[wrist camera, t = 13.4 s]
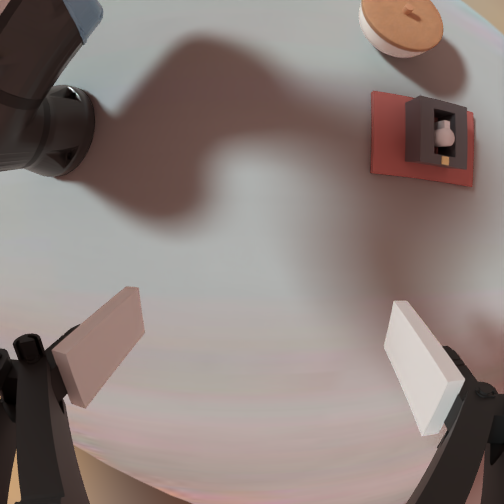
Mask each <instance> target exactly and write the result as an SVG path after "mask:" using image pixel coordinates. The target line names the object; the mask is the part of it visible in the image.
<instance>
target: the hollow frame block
mask: <svg viewBox="0 0 504 504" xmlns="http://www.w3.org/2000/svg"><path fill="white" fill-rule="evenodd" d="M434 117H436V118H438V122H439V121H443V120H446V121H450V130H452V132H453V133H454V136H455V141H454V143H453V144H452V145H451V146H443V147H438V154H434ZM467 150H468V131H467V108H466V107H463V106H459V105H456V104H452V103H448V102H445V101H441V100H437V99H432V98H428V97H424V96H418V97H416V98H414V99H412V100H410V101H408V102H406V103H405V162H412V163H419V164H425V165H431V166H437V167H443V168H449V169H463V170H467Z"/></svg>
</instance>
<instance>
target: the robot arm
mask: <svg viewBox="0 0 504 504" xmlns="http://www.w3.org/2000/svg"><path fill="white" fill-rule="evenodd" d="M102 18H103V8H102V6H101V5H100V3H99V2H98V1H97V0H0V172H1V171H7V170H15V169H22V168H24V169H27V170H29V171H32V172H34V173H37V174H39V175H42V176H47V177H53V176H61V175H64V174H67V173H69V172H71V171H72V170H73V169H75V168H76V167H77V166H78V165H79V163H80V162H81V161H82V160H83V158H84V157H85V155H86V153H87V151H88V149H89V147H90V144H91V141H92V137H93V132H94V121H95V120H94V110H93V106H92V103H91V101H90V99H89V97H88V96H87V95H86V94H85V93H84V92H83V91H82V90H81V89H79V88H76V87H72V86H69V85H57V86H53V85H54V83H55V82H56V80H57V79H58V77H59V76H60V75H61V73H62V72H63V70H64V69H65V68H66V66H67V65H68V64H69V62H70V61H71V59H72V58H73V57H74V56H75V54H76V53H77V52H78V50H79V49H80V48H81V47H82V45H85V43H86V42H87V38H88V37H89V36H90V35H91V33H92V32H93V31H94V29H95V28H96V27H97V26H98V24H99V23H100V22H101V20H102ZM144 333H145V330H144V323H143V317H142V310H141V302H140V295H139V288H137V287H127V286H126V287H125V288H124V289H123V290H121V291H120V292H119V293H118V294H116V295H115V296H114V297H113V298H112V299H110V300H109V301H108V302H107V303H106V304H104V305H103V306H102V307H101V308H100V309H98V310H97V311H96V312H95V313H94V314H92V315H91V316H90V317H89V318H88V319H87V320H85V321H84V322H83V323H82V324H81V325H80V324H79V325H77V326H75V327H73V328H71V329H70V330H68V331H67V332H66V333H65V334H64V335H62V336H61V337H60V338H59V340H57V341H56V342H54V343H53V344H52V345H51V346H50V347H49V348H47V349H46V350H45V351H44V348H43V344H42V341H41V338H40V336H39V335H37V334H25V335H22V336H20V337H18V338H17V339H16V340H15V341H14V343H13V346H14V349H15V352H16V354H17V357H18V360H12V359H10V357H9V354H8V352H7V350H5V349H0V396H1V399H0V504H7V499H8V492H9V485H10V479H11V472H12V467H13V462H14V457H15V453H16V449H17V464H18V474H19V484H20V492H21V501H20V502H15V504H90V503H89V500H88V497H87V494H86V490H85V487H84V484H83V481H82V477H81V474H80V470H79V466H78V463H77V459H76V455H75V451H74V446H73V442H72V437H71V432H70V428H69V422H68V417H67V411H66V405H65V402H64V400H63V398H64V396H65V395H66V394H68V396H69V399H70V401H71V403H72V404H74V405H77V406H80V407H83V408H86V407H87V406H88V405H89V403H90V402H91V401H92V400H93V398H94V397H95V396H96V394H97V393H98V392H99V390H100V389H101V388H102V387H103V385H104V384H105V383H106V381H107V380H108V379H109V377H110V376H111V375H112V374H113V372H114V371H115V370H116V369H117V367H118V366H119V365H120V363H121V362H122V361H123V360H124V358H125V357H126V356H127V355H128V353H129V352H130V351H131V350H132V348H133V347H134V346H135V345H136V343H137V342H138V341H139V340H140V338H141V337H142V336H143V335H144ZM384 349H385V351H386V353H387V356H388V358H389V360H390V362H391V364H392V367H393V369H394V371H395V373H396V375H397V378H398V380H399V382H400V385H401V387H402V389H403V392H404V394H405V396H406V399H407V401H408V403H409V406H410V408H411V411H412V413H413V415H414V418H415V420H416V423H417V425H418V428H419V431H420V433H421V436H427V435H433V434H438V433H439V431H440V430H441V428H442V426H443V424H444V423H445V425H446V427H447V431H446V433H445V435H444V437H443V438H442V440H441V442H440V443H439V445H438V447H437V448H438V449H437V451H436V453H435V455H434V457H433V459H432V461H431V463H430V465H429V466H428V468H427V470H426V472H425V474H424V475H423V477H422V479H421V481H420V482H419V484H418V486H417V487H416V489H415V491H414V492H413V494H412V495H411V497H410V499H409V500H408V502H407V503H406V504H465V502H466V499H467V497H468V495H469V493H470V490H471V488H472V485H473V483H474V480H475V477H476V474H477V472H478V469H479V466H480V463H481V460H482V457H483V454H484V451H485V460H484V476H483V488H482V497H481V504H504V394H498V392H497V391H496V389H495V388H494V387H493V386H492V385H490V384H488V383H485V382H477V380H476V379H475V377H474V376H473V375H472V373H471V372H470V370H469V369H468V368H467V366H466V365H465V364H464V362H463V361H462V360H461V358H460V357H459V356H458V354H457V353H456V352H455V351H454V350H452V349H451V348H450V347H448V346H441V344H440V343H439V342H438V340H437V339H436V338H435V336H434V335H433V334H432V332H431V331H430V330H429V328H428V327H427V326H426V324H425V323H424V322H423V320H422V319H421V318H420V317H419V315H418V314H417V313H416V311H415V310H414V309H413V308H412V306H411V305H410V304H409V303H408V301H394V302H393V307H392V312H391V317H390V321H389V326H388V330H387V335H386V339H385V343H384Z"/></svg>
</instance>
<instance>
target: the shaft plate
mask: <svg viewBox="0 0 504 504" xmlns="http://www.w3.org/2000/svg"><path fill="white" fill-rule="evenodd" d="M412 99H414V98H412V97H407V96H402V95H396V94H390V93H384V92H378V91H373V92H371V115H372V131H371V170H370V173H375V174H385V175H393V176H402V177H410V178H417V179H425V180H432V181H439V182H445V183H451V184H457V185H463V186H469V187H472V182H473V160H474V125H473V113H472V112H469V111H467V131H468V150H467V170H463V169H449V168H443V167H437V166H431V165H425V164H419V163H412V162H405V103H406V102H408V101H410V100H412ZM454 141H455V136H454V133H453V132H452V130H450V121H446V120H443V121H439V122H438V118H436V117H434V154H438V147H443V146H451V145H452V144H453V143H454Z"/></svg>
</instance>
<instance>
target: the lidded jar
mask: <svg viewBox="0 0 504 504" xmlns="http://www.w3.org/2000/svg"><path fill="white" fill-rule="evenodd" d="M359 24H360V27H361V30H362V32H363V34H364V35H365V37H366V38H367V40H368V41H369V42H370V43H371V44H372V45H373V46H374V47H375V48H377V49H378V50H380V51H381V52H383V53H385V54H387V55H390V56H393V57H399V58H410V57H415V56H418V55H420V54H423V53H424V52H426V51H428V50H430V49H432V48H433V47H435V46H436V45H437V44H438V43H439V42H440V40H441V38H442V36H443V23H442V19H441V17H440V14H439V12H438V10H437V9H436V7H435V6H434V4H433V3H432V2H431V1H430V0H362V1H361V4H360V8H359Z"/></svg>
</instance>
